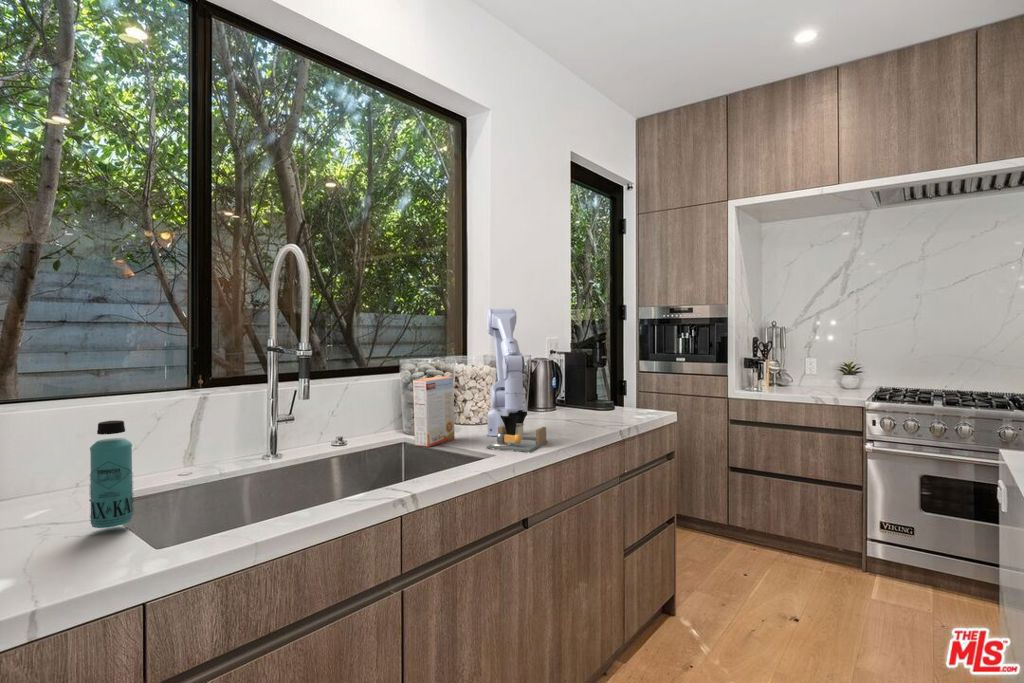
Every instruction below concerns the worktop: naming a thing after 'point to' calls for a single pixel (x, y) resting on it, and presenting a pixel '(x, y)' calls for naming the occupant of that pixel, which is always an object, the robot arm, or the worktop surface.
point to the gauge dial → (500, 441)
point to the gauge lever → (512, 438)
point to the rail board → (524, 441)
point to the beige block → (519, 429)
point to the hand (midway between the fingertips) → (514, 435)
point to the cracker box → (433, 410)
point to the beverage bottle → (111, 478)
